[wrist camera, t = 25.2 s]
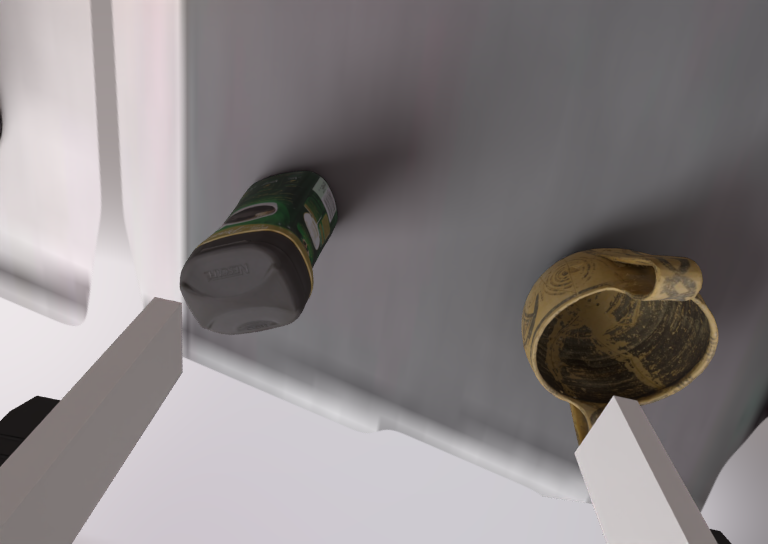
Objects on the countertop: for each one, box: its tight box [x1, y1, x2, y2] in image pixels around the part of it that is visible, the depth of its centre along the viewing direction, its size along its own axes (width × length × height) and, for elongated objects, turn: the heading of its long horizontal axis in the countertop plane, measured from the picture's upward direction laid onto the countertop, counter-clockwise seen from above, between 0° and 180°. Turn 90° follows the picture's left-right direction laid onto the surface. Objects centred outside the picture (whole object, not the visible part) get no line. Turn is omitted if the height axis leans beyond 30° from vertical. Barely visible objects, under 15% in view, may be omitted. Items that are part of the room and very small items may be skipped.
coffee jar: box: [180, 171, 337, 335], centre depth 41 cm, size 10×8×19 cm
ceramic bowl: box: [522, 248, 718, 446], centre depth 45 cm, size 22×17×15 cm
